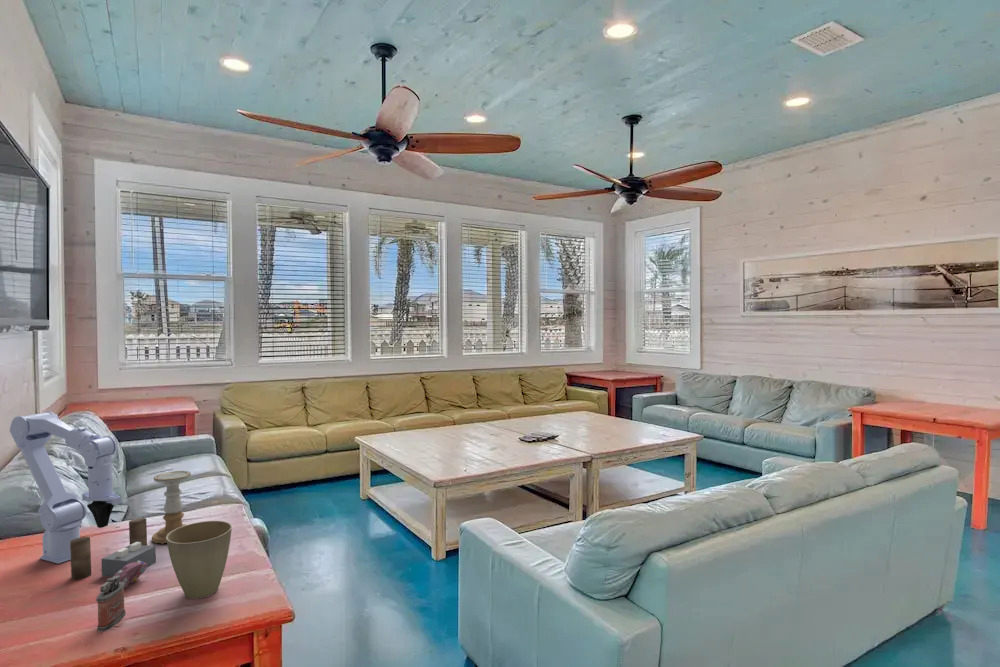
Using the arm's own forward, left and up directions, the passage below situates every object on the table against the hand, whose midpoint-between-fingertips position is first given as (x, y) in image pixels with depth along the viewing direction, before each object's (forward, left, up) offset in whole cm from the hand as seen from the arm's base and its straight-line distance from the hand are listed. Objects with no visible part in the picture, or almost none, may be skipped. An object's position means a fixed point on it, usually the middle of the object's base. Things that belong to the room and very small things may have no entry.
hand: (102, 526), depth 164 cm
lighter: (+35, -20, -11) cm, 42 cm away
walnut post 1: (+3, -8, -10) cm, 14 cm away
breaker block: (+11, 0, -11) cm, 16 cm away
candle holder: (+1, +21, -11) cm, 24 cm away
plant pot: (+42, -2, -11) cm, 44 cm away
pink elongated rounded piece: (+20, -7, -11) cm, 24 cm away
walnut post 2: (+3, +8, -10) cm, 14 cm away
